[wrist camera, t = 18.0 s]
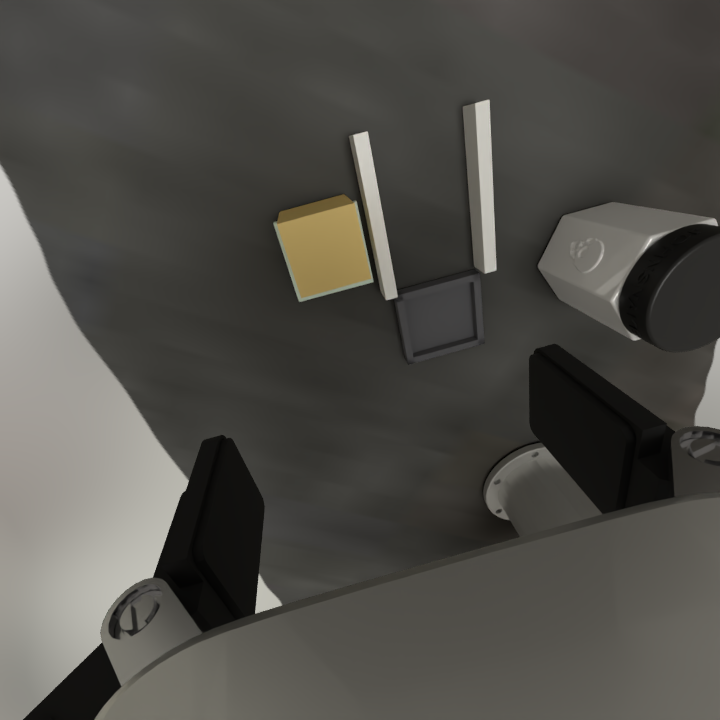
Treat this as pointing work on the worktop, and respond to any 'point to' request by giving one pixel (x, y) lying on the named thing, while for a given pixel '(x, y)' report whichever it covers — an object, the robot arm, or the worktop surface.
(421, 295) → the tray
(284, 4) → the worktop surface
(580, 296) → the jar
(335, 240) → the block
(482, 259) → the channel
